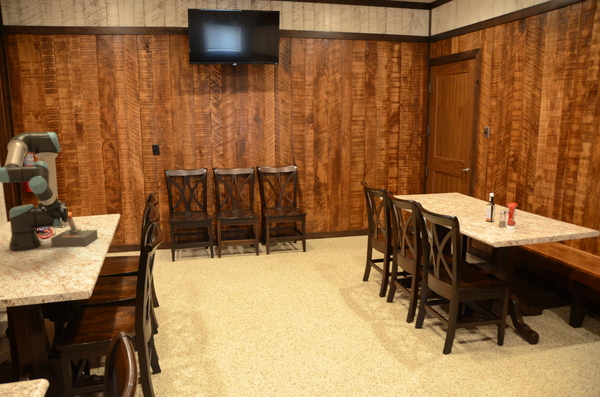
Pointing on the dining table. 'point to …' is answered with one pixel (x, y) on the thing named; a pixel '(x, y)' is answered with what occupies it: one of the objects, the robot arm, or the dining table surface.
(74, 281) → the dining table surface
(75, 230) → the lever
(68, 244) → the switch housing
